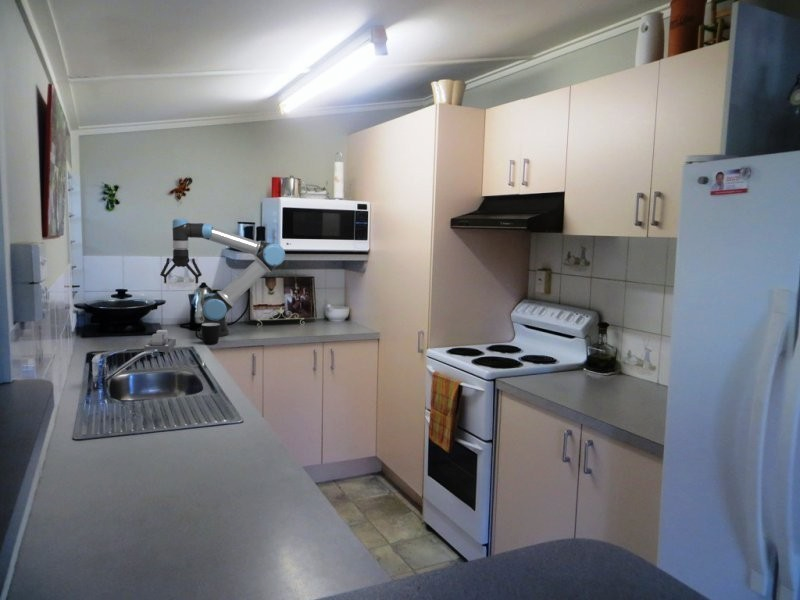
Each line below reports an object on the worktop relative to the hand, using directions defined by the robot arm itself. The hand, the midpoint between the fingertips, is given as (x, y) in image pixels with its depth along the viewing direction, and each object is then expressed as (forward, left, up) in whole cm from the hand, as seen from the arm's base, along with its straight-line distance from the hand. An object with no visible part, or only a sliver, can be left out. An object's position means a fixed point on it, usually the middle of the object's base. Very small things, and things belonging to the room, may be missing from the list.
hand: (181, 289), depth 310 cm
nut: (+7, +27, -27) cm, 39 cm away
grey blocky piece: (+7, +22, -27) cm, 35 cm away
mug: (-14, +11, -27) cm, 32 cm away
